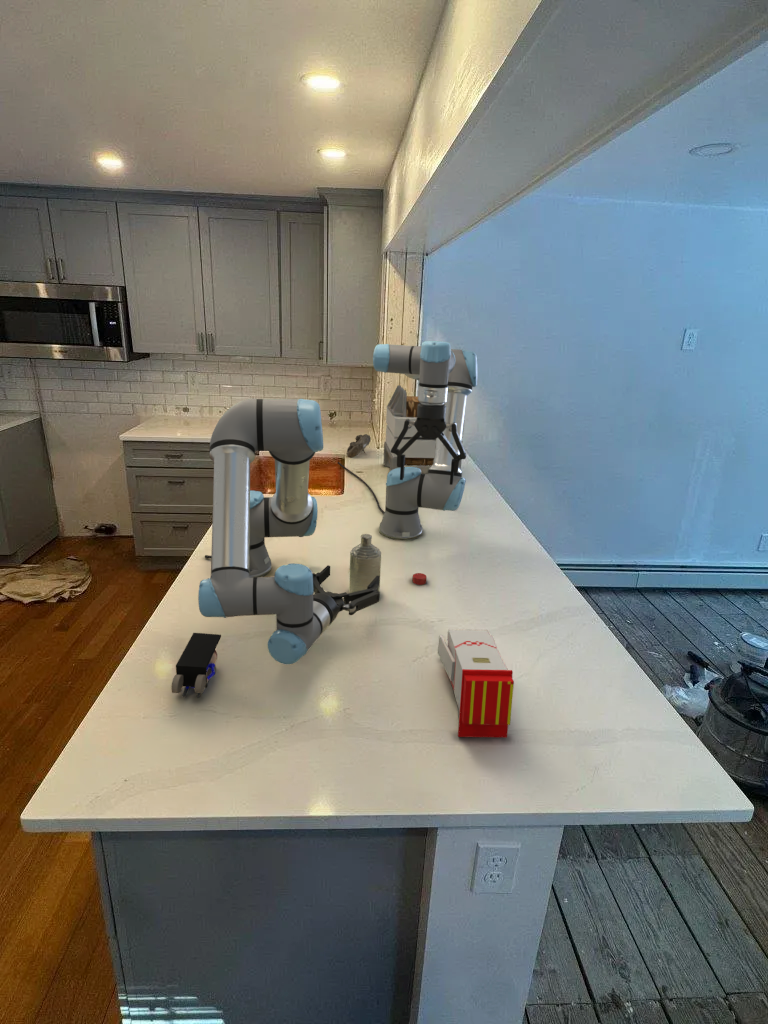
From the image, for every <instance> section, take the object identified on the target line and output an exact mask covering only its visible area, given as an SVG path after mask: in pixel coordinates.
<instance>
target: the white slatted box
mask: <svg viewBox="0 0 768 1024" xmlns="http://www.w3.org/2000/svg"><path fill="white" fill-rule="evenodd" d="M407 394H408V393H407V390H406V389H404V388H403V387H402V385H399V384H398V385H397V386H396V388H395V390H394V392H393V394H392V395H391V398H390V400H389V402H388V404H387V405H386V413H385V414H386V415H385V423H386V428H385V438H384V442H383V466H384V467H388V468H389V472H390V471H391V470H393V469H396V468H401V467H397V455H396V454H394V453H391V449H392V447H393V446H394V444H395V442H396V440H397V439H398V437H399V435H400V433H401V432H402V430H403V428H404V422H405V420H406V419H409V420H411V421H416V419H417V405H418V403H420V402H419V401H418V395H417V396H415V395H414V396H413V395H412V396H411V395H407ZM464 429H465V419H464V423H463V432H462V440H461V442H462V444H463V442H464V441H463V438H464V431H465V430H464ZM417 432H418V431H417V429H416V428H415V426H414V425H413V426H412V427H411V428H410V429H408V431H407V432H406V434H405V436H404V438H403V439H402V441H401V443H400V445H399V446H398V448H397V449H399V450H400V449H401V448H402V447H403V446H404V445H405V444H406V443H407V442H408V441H409V440H410V439H411V438H412V437H413V436H414V435H415V434H416V433H417ZM435 445H436V439H431V438H423V437H421V436H420V437H419V438H418V439H417V440H416V441H415V442H414V443H413V444H412V445H411V446H410V447H409V448H408V449H407V450H406V451H405V452H404V453H403V454H402V455H405V466H406V467H417V466H418V467H431V466H432V465H433V462H434V453H435ZM462 461H463V459H462V460H460V461H459V469H460V470H461V471H462Z"/></svg>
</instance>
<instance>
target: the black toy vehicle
mask: <svg viewBox="0 0 768 1024" xmlns="http://www.w3.org/2000/svg"><path fill="white" fill-rule="evenodd" d="M221 638H222V634H217V633H204V632H203V633H202V632H193V633H192V635H191V636H190V638H189V640H188V642H187V643H186V646H185V648H184V649H183V651H182V653H181V655H180V656H179V658H178V660H177V662H176V664H175V674H174V676H173V678H172V681H171V685H170V686H171V687H170V688H171V689H170V690H171V693H172V694H180V693H181V692H182V693H181V696H182V698H186V697H187V696H188V693H189V690H190V688H191V689H194V693H195V694H196V698H197V699H198V698H200V697H201V695H202V694H203V693H204V692H205V689H207V688H208V683H209V681H210V680H211V678H212V677H213V676H214V675H216V670H215V667H216V663H217V661H218V652H217V650H216V649H217V647H218V645H219V642H220V640H221ZM209 669H210V671H211V672H210V673H209V674H208V671H209ZM183 687H184V690H183ZM182 690H183V691H182Z"/></svg>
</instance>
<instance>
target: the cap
mask: <svg viewBox="0 0 768 1024" xmlns="http://www.w3.org/2000/svg"><path fill="white" fill-rule="evenodd" d="M411 581H412V583H413V584H414V585H416V586H423V585H426V584H427V575H426V574H425V573H422V572H416V573H414V574H412V580H411Z"/></svg>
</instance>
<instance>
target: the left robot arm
mask: <svg viewBox="0 0 768 1024" xmlns="http://www.w3.org/2000/svg"><path fill="white" fill-rule="evenodd" d="M323 450H324V433H323V423H322V413H321V406H320V404H319V403H318V402H317V401H316V400H313V399H304V398H246V399H243V400H240V401H238V402H236V403H235V404H233V405H232V406H230V407H229V408H228V409H227V410H226V411H225V412H224V413H223V414H222V416H221V417H220V418H219V419H218V421H217V423H216V425H215V427H214V429H213V431H212V433H211V436H210V441H209V458H210V460H211V461H212V462H213V483H212V484H213V490H212V491H213V492H212V520H211V521H212V522H211V553H210V555H207V554H205V555H204V558H205V559H210V577H208V578H207V579H206V578H204V579H202V580H200V582H199V585H198V595H197V597H198V598H197V599H198V611H199V612H200V614H201V615H202V616H203V617H204V618H223V619H225V618H226V619H227V618H232V617H247V616H269V615H272V616H273V615H275V623H276V625H275V626H276V629H275V630H274V631H273V632H272V633H271V636H270V637H269V638H268V640H267V651H268V653H269V655H270V656H271V658H272V659H273V660H274V661H276V662H278V663H279V664H282V665H286V666H290V665H294V664H296V663H297V662H298V661H299V660H300V659H302V658H303V657H304V656H306V654H307V653H308V652H309V650H310V649H311V648H312V646H314V644H315V643H316V642H317V641H318V639H319V638H320V637H321V635H322V634H323V633H324V632H325V631H326V630H327V628H328V627H329V626H330V625H331V624H332V623H333V622H334V621H335V619H336V618H337V616H338V615H339V613H340V612H343V611H346V612H348V615H349V616H354V615H355V614H356V613H357V612H359V611H362V610H364V609H366V608H368V607H371V606H373V605H375V604H377V603H380V599H381V597H380V596H381V591H380V592H379V591H378V586H379V578H380V579H381V575H380V576H376V577H375V578H374V579H373V581H372V582H371V583H370V584H369V585H368V586H367V589H366V590H361V591H357V592H353V593H348V592H341V593H340V592H339V593H337V592H333V591H325V589H324V588H323V587H322V586H321V585H322V584H323V583H324V582H325V581H326V580H327V579H328V578H329V577H330V576H331V565H329V564H327V565H326V566H325V567H324V568H322V570H321V571H320V572H319V571H318V572H316V573H314V572H312V570H311V569H310V568H309V567H308V566H307V565H304V564H302V563H287V564H282V565H280V566H279V567H277V569H276V570H275V572H274V576H267V575H268V574H269V573H270V572H271V571H272V567H273V566H272V559H271V558H270V557H271V556H270V555H269V552H268V550H267V547H266V543H265V542H266V541H265V538H292V537H293V538H295V537H297V538H304V537H310V536H312V535H314V533H315V531H316V528H317V525H318V524H317V523H318V522H317V520H318V513H319V512H318V510H319V509H318V501H317V499H316V497H315V496H312V495H311V494H310V493H309V479H310V465H311V464H310V462H311V460H312V459H313V457H314V456H315V454H316V453H318V452H321V451H323ZM257 451H258V452H268V453H269V455H270V456H271V457H272V459H274V477H275V478H274V479H275V493H274V494H273V495H272V496H266V497H265V496H264V494H263V492H262V491H260V490H253V489H252V490H251V463H253V462H254V461H255V458H256V452H257Z"/></svg>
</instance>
